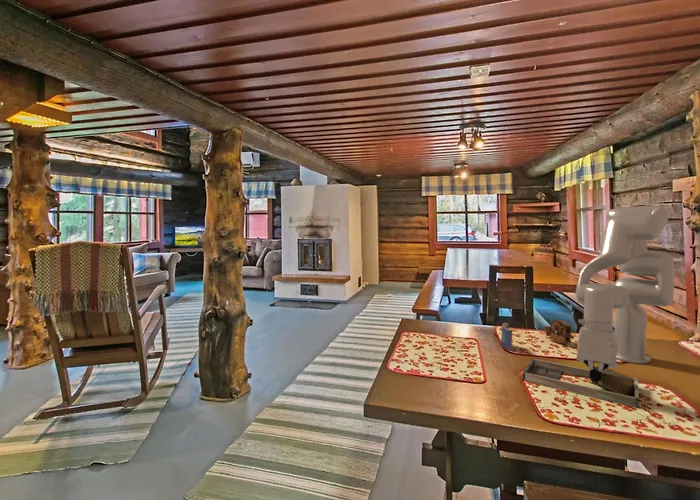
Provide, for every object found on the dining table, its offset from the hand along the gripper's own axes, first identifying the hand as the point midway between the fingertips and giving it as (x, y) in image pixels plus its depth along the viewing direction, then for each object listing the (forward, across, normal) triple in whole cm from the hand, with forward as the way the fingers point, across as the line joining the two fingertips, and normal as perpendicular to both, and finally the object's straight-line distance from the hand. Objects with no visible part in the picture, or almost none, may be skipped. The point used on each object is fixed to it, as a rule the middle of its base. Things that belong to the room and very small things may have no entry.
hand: (595, 381), depth 111 cm
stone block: (+2, +4, +3) cm, 5 cm away
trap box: (+2, -5, +1) cm, 5 cm away
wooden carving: (+1, -17, +44) cm, 47 cm away
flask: (+2, -33, +24) cm, 41 cm away
